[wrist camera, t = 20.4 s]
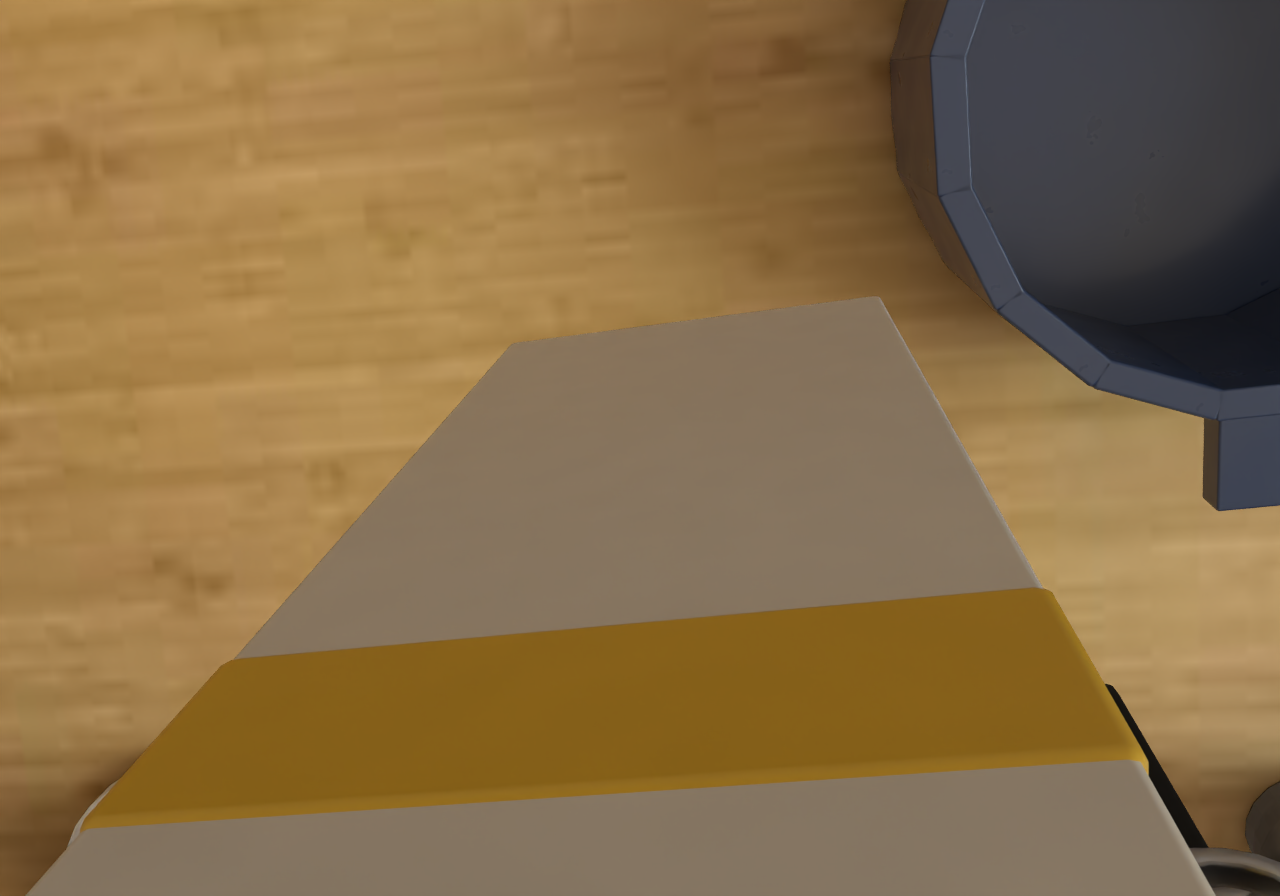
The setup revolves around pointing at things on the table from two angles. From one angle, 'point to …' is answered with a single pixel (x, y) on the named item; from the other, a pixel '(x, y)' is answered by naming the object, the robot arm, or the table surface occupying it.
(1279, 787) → the beverage cup
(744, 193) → the table surface
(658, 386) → the packet
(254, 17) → the table surface
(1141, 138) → the tin
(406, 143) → the table surface
